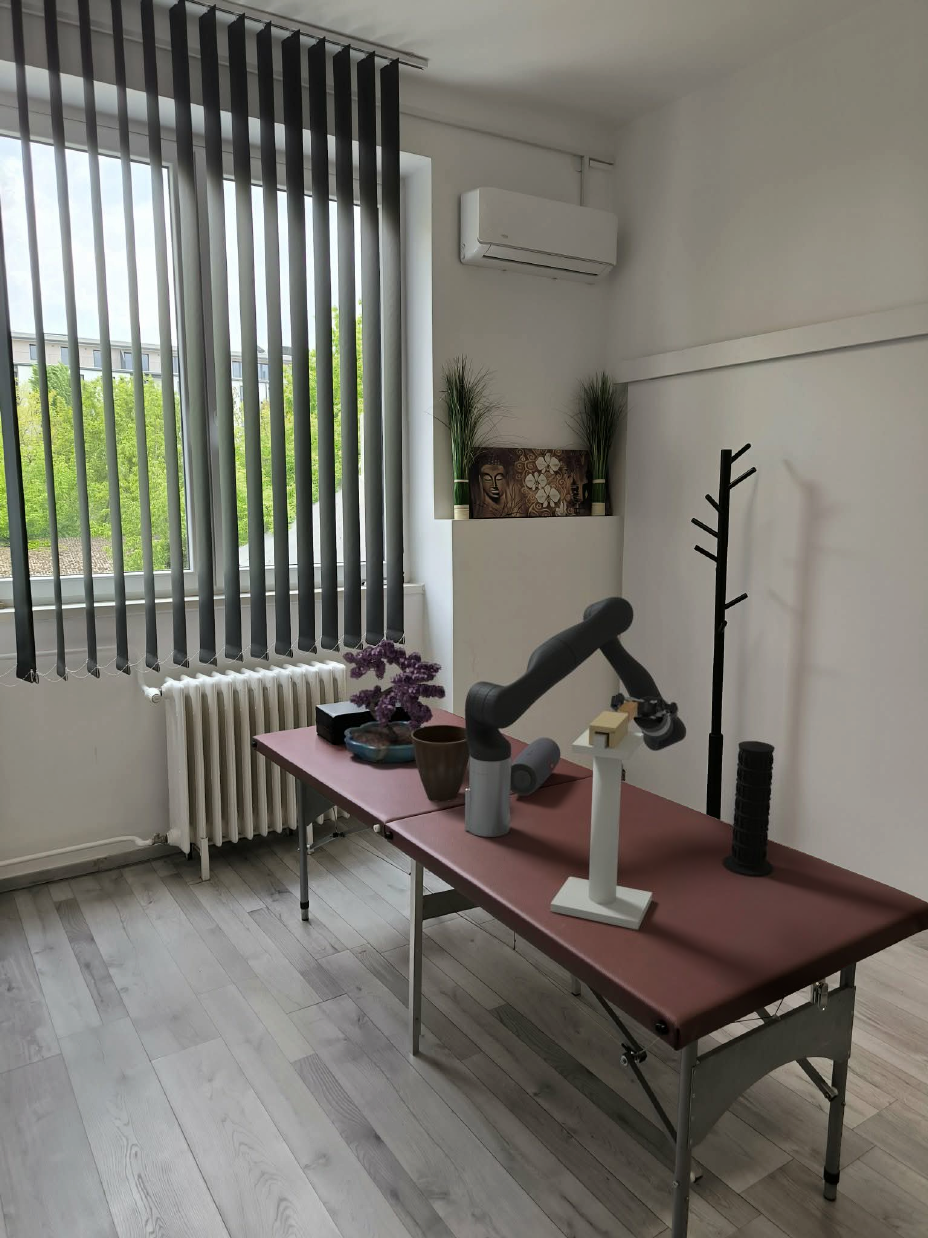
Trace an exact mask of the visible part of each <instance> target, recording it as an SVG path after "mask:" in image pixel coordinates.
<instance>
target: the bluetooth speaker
mask: <svg viewBox="0 0 928 1238" xmlns="http://www.w3.org/2000/svg"><path fill="white" fill-rule="evenodd" d="M560 759H561V749H560V747H559V745H558V744H557V742H556V741H555V740H553V739H552V738H549V737H540V738H537V739H535V740H533V741H532V742H530V744H529V745H528V746H526V747H525V748H524V749H523V750H522V751H521V752H520V753H519V754H518V755H517V756H516V757H515V759H513V761H511V788H510V792H512V793H514V794H515V795H518V796H529V795H531V794H533V793H534V792H535V791H537V790H538V789H539V788H540V787H541V786H542V785H543V784H544V783H545V782H546V781H547V779H548V778H549V777H550V776H551V774H552V773H553V771H554V770H555V769H556V767H558V766H557V765H558V763H559V762H560Z"/></svg>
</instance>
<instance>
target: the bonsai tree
mask: <svg viewBox="0 0 928 1238" xmlns="http://www.w3.org/2000/svg"><path fill="white" fill-rule="evenodd" d="M342 658H343V660H345V662H346V663H347V664H350V665H352V664H353V665H355V666H353V667H352V668H351V669H350V670H349V672H350V674H349V677H350V678H351V679H355V680H357V681H359V679H361V678H362V677H363V676H364V675H366V674H367V673H368V672H369V671H370V672H371V671H373V672H374V674H375V677H376V679H378V681H381V680H383V679H384V678H385V673H386V670H387V669H386V665H387V664H388V665H389V666H392V665H393V664H394V665H396V666H397V667H398V668H399V669H400V671H401V672H399V674H398V673H395V675H393V676H390V677H389V679H390V680H389V681H388V683H391V684H393V685H392V686H390V687H388V688H385V689H384V690H382V687H381V685H378V684H376V685H375V686H373V689H361V690H360V691H359V690H358V693H356V694H352V695H350V697H349V702H350V704H352V703H353V704H354V706H355V705H356V707H357V708H358V709H359V708H361V707H363V706H364V709H365V710H368V711H369V712H370V714H371V715H372V717H373V718H374V720H376V721H370V722H367V723H364V724H361V725H360V727H358V726H357V727H350V728H347V729H346V730H345V731H344V733H343V734H344V735H345V738H344V739H343V740H344V742H345V745H346V748H347V751H348V752H349V753H351V754H354V756H355V757H356V758H359V759H361V760H364V761H367V762H373V763H387V764H389V763H391V764H392V763H393V764H394V763H402V762H409V761H413V760H416V759H415V754H414V749H413V742H412V736H411V734H412V732H413V731H414V730H416V729H418V728H421V727H425V726H426V725H423V724H425V723H429V721H430V722H431V720H432V718H433V717H434V715H433V713H432V710H431V708H430V707H429V705H428V704H423V703H422V702H421V701H419V700H420V697H421V698H425V699H428V700H429V699H430V698H433V699H435V698H438V700H439V701H441V700H442V699H444V698H445V697H446V689H445V688H444V686H443V685H439V684H438V685H436V684H428V682H432V681H434V679H435V678H437V674H438V673H440V670H441V671H442V665H441V664H439V663H435V662H434V663H433V662H432V663H430V662H429V661H426V660H423V661H422V657H421V653H420V652H416V651H414V652H411V653H408V654H407V652H406V649H405V648H404V647H401V646H400V647H397V646H395V644H394V640H392V639H390V638H389V639H386V640H383V641H380V643H379V644H378V645H377V646H376V647H373V646H370V645H367V646H366V647H364V648H363V650H360V651H357V652H356V654H353V653H352V652H351V651H348V652H345V653H344V654H343V655H342ZM382 659H383V660H382ZM385 660H386V661H385ZM372 669H373V670H372ZM407 670H408V671H407ZM398 703H399V704H400V707H402V710H404V712H406V713H407V716H409V718H410V720H408V721H405V720H403V721H402V720H401V721H399V720H398V721H392V722H390V720H391V717H392V715H393V714H395V712H396V710H397V707H396V706H397V705H396V704H398Z"/></svg>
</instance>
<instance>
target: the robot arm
mask: <svg viewBox="0 0 928 1238" xmlns="http://www.w3.org/2000/svg"><path fill="white" fill-rule="evenodd" d="M583 611H584V612H583V616H582V620H583V621H581V622H578V623H576V624H574V625H573V626H570V627H568V628H566V629H564V630H562V631H560V632H558V633H556V634H555V635H553V636H552V637H550V638H549V639H547V640H546V641H544V642H543V643H542V644H540V645H539V646H538V647H537V648H536V649H534V651H532V653H531V655H530V657H529V658H528V663H527V665H526V666H527V667H526V671H525V672H524V673H523V674H522V675H521V676H520V677H518V679H516V680H515V681H514V682H511V683H510V684H508V685H501V684H496V683H493V682H490V681H489V682H488V681H478V682H475V683H474V684H473V685H472V686H471V687H470V688H469V690H468V691H467V694H466V698H465V704H464V720H465V722H464V723H465V724H464V725H465V727H464V728H466V741H467V744H468V747H469V761H468V765H469V766H468V769H469V770H468V787H467V788H466V789H465V794H464V800H465V801H464V806H465V807H464V808H465V809H464V831H467V832H470V833H471V834H472V835H476V836H479V837H485V838H494V837H495V838H496V837H500V836H505V835H507V834H508V833H509V832H510V824H511V819H510V818H511V790H510V788H511V764H512V744H511V742H510V741H509V740H508V739H507V738H506V737H505V736H504V734H503V733H502V732H501V731H500V730H501V729H506V728H509V727H510V726H512V725H514V723H515V722H516V721H518V720H519V719H520V718H521V717H522V716H523V715H524V714H525V713H526V712H527V711H528V710H529V709H530V707H531V706H532V705H534V704H535V703H536V702H537V701H538V700H539V699H540V698H541V697H542V696H544V695H545V694H546V693H548V692H549V690H551V689H552V688H553V687H554V686H555V685H557V684H558V683H559V682H561V681H562V680H564V679H565V678H567V677H568V676H569V675H570V674H571V673H573V672H574V671H575V670H576V669H577V668H578V667H580V666H581V665H582V664H583V663H584V662H585V661H587V659H589V658H590V657H591V656H592V655H593V654H594V653H595V652H596V651H598V650H600V652H601V653H602V655H603V656H604V657H605V659H606V660H607V661H608V662H609V664H610V666H611V667H612V668H613V670H614V671H615V673H616V675H617V676H618V678H619V680H620V681H621V683H622V684H623V686H624V688H625V690H626V693H627V694H628V696H629V697H626V696H625V695H624V694H623V693H622V692H617V694H615V695H612V696H611V700H610V706H609V707H610V708H611V709H612V710H613V712H617V711H618V709H619V708H620V707H621V706H622V705H623V704H624V703H625V702H626V701H627V702H636V703H638V705H637V715H636V716H635V717H634V718H633V719H632V721H634V723H635V724H636V725H637V727H638V728H639V729H640V730H641V733H644V736H643V742H644V745H645V746H646V747H647V748H648V749H649V750H651V751H654V752H657V751H661V750H663V749H666V748H668V747H670V746H672V745H675V744H676V743H679V742H681V741H683V740H684V739H685V738H686V736H687V727H686V725H685V723H684V721H683V720H682V719H681V718H680V717H679V715H678V714H679V706H678V704H677V702H674V701H672V702H670V703H669V702H668V701H667V700H665V699H664V698H663V696H662V693H661V692H660V690H659V689H658V688H659V687H658V686H657V684H656V681H655V680H654V678H653V676H652V675H651V674H650V672H649V671H648V670H647V668H646V667H644V666H643V665H642V664H641V663H640V662H639V661H638V660H636V659H635V658H634V657H633V656H632V655H631V654H630V653H629V652H628V651H627V649H626V648H625V647H624V646H623V644H622V642H621V641H620V639H619V636H620V635H622V634H623V633H625V632H627V630H629V629H630V627H631V626H632V623H633V621H634V609H633V606H632V604H631V603H630V602H629V601H628V600H627V599H625V598H623V597H619V596H610V597H607V598H604V599H601V600H599V601H596V602H595V603H594V602H593V603H592V604H590V605H588V606H587V607H586V608H585V610H583Z"/></svg>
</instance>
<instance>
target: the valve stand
mask: <svg viewBox="0 0 928 1238" xmlns="http://www.w3.org/2000/svg"><path fill="white" fill-rule="evenodd" d="M628 716H629V714H625V713H617V712H616V711H607V710H603V711H602V712H601V713H600V714H599V715H598V716H597V717H596V718H595V719H594V720H593V721H592V722H591V723H589V725H588V727H589V728H587V729H586V730H585V731H584V732H583V733H582V734H581V735H580V736H579V737H578V738H577V739H576V740H575V741H574V742H573V743H572V744H571V753H573V754H579V755H586V756H592V757H593V765H592V766H593V769H592V797H591V799H592V800H591V817H590V818H591V823H590V846H589V847H590V849H589V871H588V872H589V874H588V879H585V878H579V877H575V876H568V878H567V879H566V881H565V882H564V884H563V885H562V886H561V888H560V890H559V891H558V893H556V895H555V897H554V898H553V899H552V901H551V902H550V912H553V913H556V914H557V913H558V914H562V915H565V916H566V915H567V916H572V917H575V918H576V917H578V918H581V919H586V920H590V921H595V922H600V923H603V924H604V923H605V924H610V925H614V926H618V927H623V928H629V929H633V930H636V931H637V930H639V928H640V926H641V923H642V922H643V920H644V918H645V916H646V913H647V911H648V909H649V906H650V905H651V902H652V898H653V892H651V891H647V890H641V889H635V888H631V887H627V886H626V887H625V886H620V885H617V881H618V880H617V878H618V877H617V876H618V861H619V860H618V859H619V858H618V857H619V856H618V855H619V837H620V836H619V833H620V832H619V831H620V814H621V812H620V810H621V809H620V808H621V792H622V791H621V788H622V765H623V761H629V760H630V759H631V758H632V756H634V754H635V752H637V750H638V749H639V748H640V746H641V745H642V744H643V742H644V740H643V736H644V733H642V732H635V731H629V723H628ZM597 732H605V733H609V744H608V745H607V746H606V748H605V749H602V748H595V747H593V736H594V735H595V734H596V733H597Z"/></svg>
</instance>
